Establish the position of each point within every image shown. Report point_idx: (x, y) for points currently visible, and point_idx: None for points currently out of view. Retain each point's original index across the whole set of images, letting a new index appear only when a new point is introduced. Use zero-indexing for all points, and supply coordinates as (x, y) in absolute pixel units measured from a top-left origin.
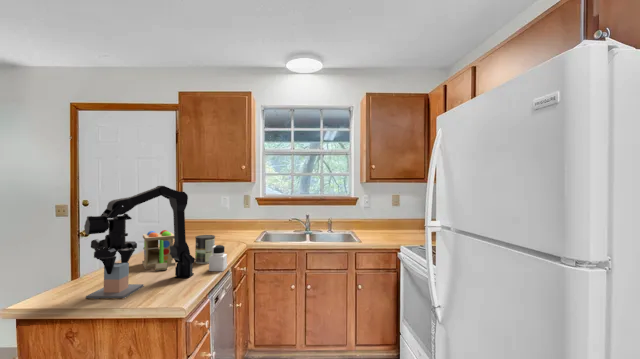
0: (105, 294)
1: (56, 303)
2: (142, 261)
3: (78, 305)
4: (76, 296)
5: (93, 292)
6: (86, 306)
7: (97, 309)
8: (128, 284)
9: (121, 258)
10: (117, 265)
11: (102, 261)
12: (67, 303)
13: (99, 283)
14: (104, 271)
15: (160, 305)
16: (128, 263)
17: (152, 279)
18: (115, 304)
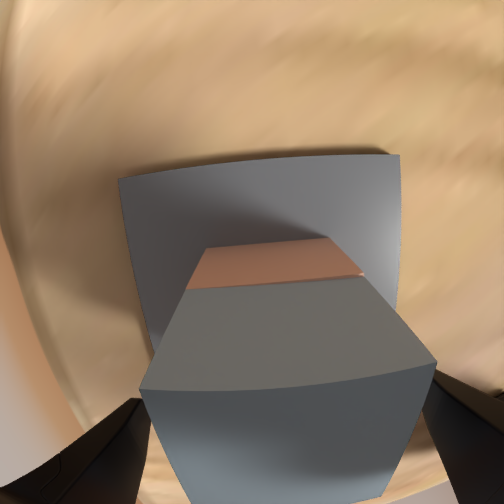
0: (169, 292)
1: (53, 77)
2: None
3: (42, 229)
4: (163, 72)
5: (194, 168)
6: (45, 282)
7: (44, 352)
8: (392, 301)
9: (491, 436)
10: (245, 491)
11: (1, 492)
12: (53, 137)
13: (437, 43)
14: (164, 343)
15: (156, 495)
16: (372, 493)
17: (491, 328)
18: (105, 392)
